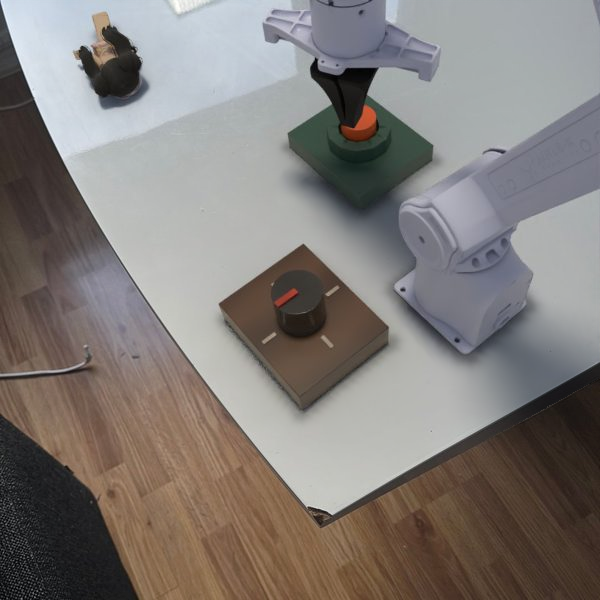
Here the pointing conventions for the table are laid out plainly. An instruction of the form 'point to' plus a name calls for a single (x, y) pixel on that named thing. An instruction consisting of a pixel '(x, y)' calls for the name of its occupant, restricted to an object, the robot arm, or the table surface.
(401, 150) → the button box
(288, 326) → the knob
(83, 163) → the table surface
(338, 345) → the panel
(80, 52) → the toy figure
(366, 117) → the button
